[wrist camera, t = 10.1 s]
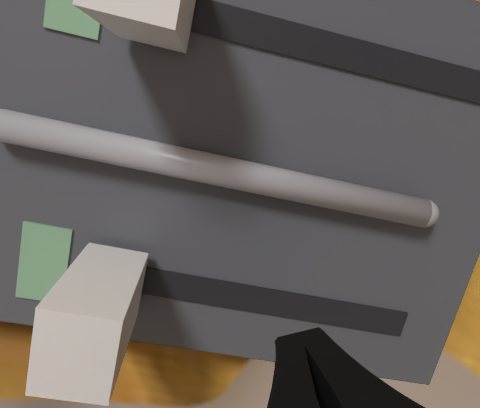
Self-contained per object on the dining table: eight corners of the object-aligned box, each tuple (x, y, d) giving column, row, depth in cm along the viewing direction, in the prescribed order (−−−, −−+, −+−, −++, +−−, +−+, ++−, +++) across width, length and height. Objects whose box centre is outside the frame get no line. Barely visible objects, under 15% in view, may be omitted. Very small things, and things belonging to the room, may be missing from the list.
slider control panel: (521, 35, 15) (594, 21, 12) (406, 355, 19) (442, 402, 16) (-39, -121, 13) (-112, -185, 10) (-62, 281, 16) (-121, 321, 13)
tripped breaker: (148, 253, 14) (123, 321, 10) (137, 315, 14) (108, 406, 10) (89, 242, 14) (35, 308, 9) (79, 306, 14) (25, 395, 10)
